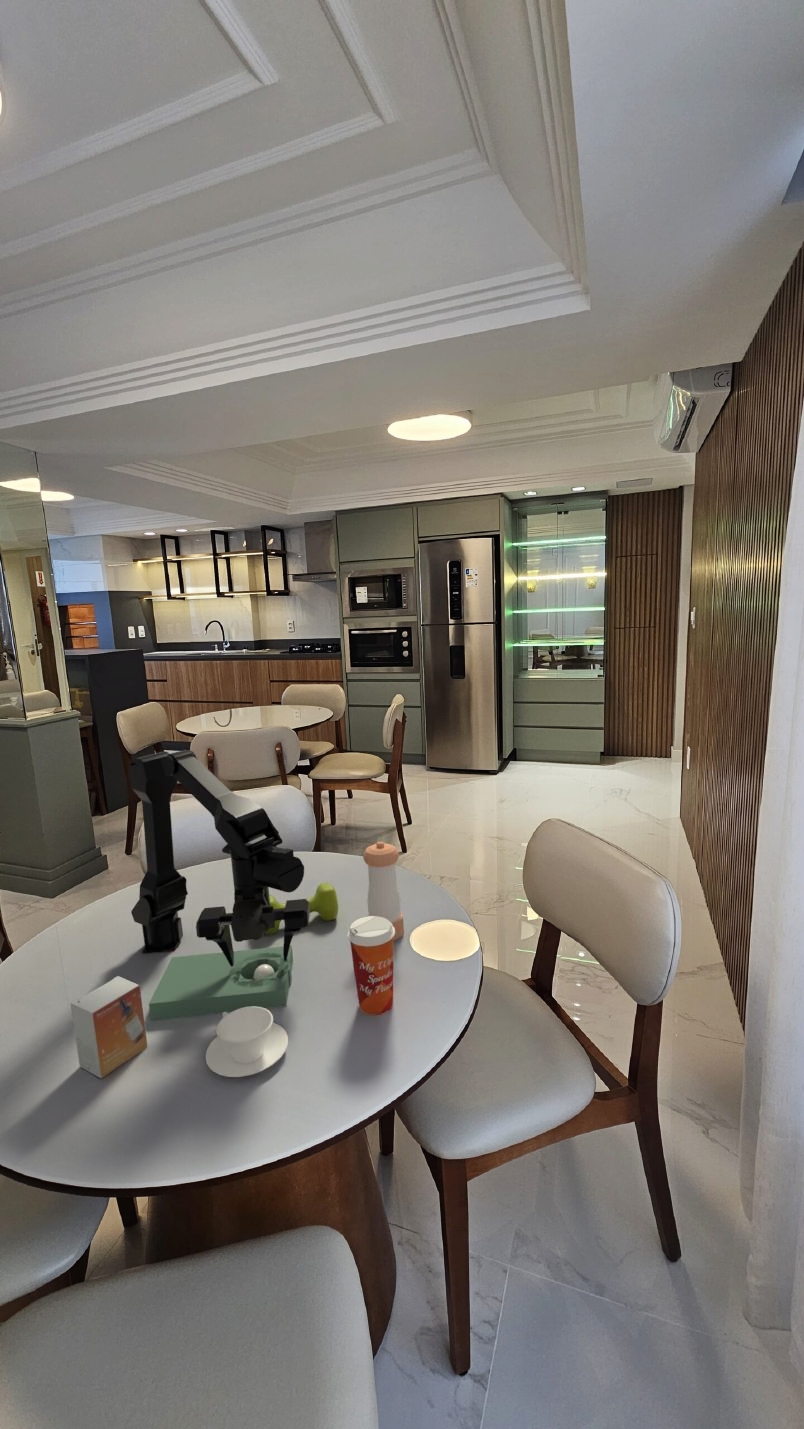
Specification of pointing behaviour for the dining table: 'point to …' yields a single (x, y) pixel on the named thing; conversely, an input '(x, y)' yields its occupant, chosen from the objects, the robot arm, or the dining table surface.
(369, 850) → the salt shaker
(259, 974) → the ball
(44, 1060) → the dining table surface
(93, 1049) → the small box
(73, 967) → the dining table surface
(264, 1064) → the teacup
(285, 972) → the green slab with hollow
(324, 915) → the dumbbell
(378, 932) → the paper cup
